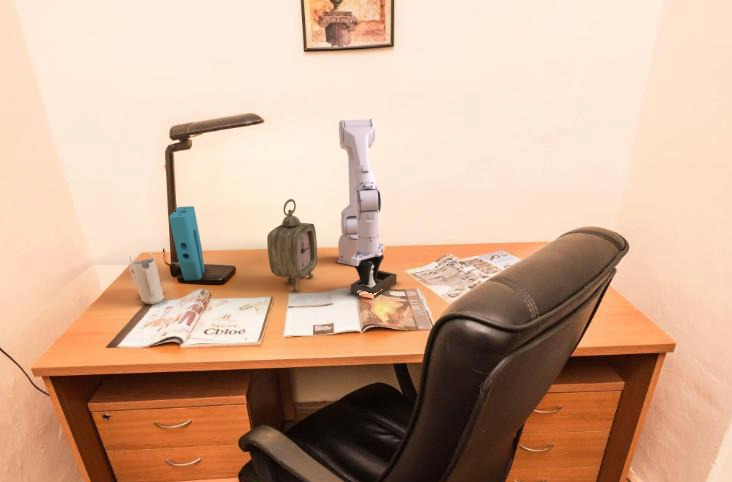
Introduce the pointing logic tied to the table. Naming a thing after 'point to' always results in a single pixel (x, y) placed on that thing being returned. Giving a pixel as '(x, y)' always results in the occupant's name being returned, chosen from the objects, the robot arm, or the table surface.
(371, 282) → the rook chess piece
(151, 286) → the cable organizer
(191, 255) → the block
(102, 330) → the table surface
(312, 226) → the tabletop clock
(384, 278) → the rack
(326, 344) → the table surface
